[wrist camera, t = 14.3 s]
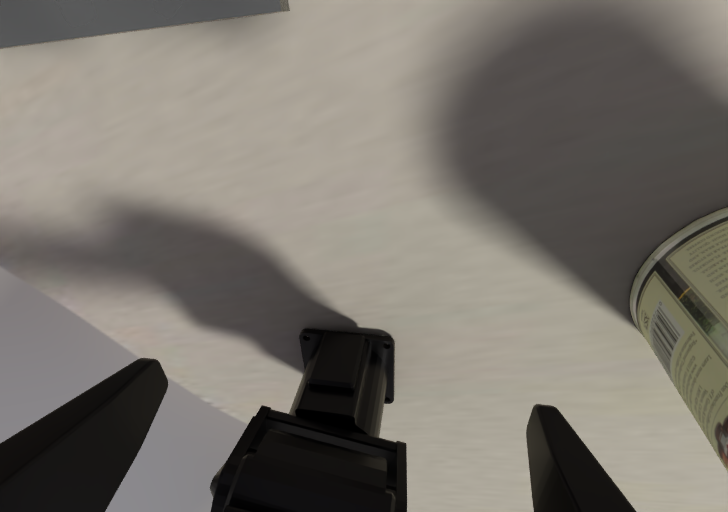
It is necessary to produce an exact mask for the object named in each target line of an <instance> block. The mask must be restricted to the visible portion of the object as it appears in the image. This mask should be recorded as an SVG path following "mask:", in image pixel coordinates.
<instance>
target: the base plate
mask: <svg viewBox="0 0 728 512" xmlns="http://www.w3.org/2000/svg"><path fill="white" fill-rule="evenodd" d="M285 11H290V10H289V4H288V0H0V49H2V48H10V47H17V46H25V45H33V44H40V43H48V42H56V41H63V40H71V39H79V38H86V37H94V36H102V35H109V34H117V33H125V32H132V31H140V30H147V29H155V28H163V27H170V26H178V25H186V24H193V23H201V22H209V21H216V20H224V19H232V18H239V17H247V16H255V15H262V14H270V13H278V12H285Z"/></svg>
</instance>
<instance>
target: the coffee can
mask: <svg viewBox="0 0 728 512" xmlns="http://www.w3.org/2000/svg"><path fill="white" fill-rule="evenodd" d="M630 310H631V315H632V318H633V321H634V323H635V325H636V327H637V328H638V330H639V331H640V333H641V334H642V335H643V336H644V337H645V339H646V340H647V342H648V343H649V345H650V347H651V348H652V350H653V351H654V353H655V355H656V356H657V358H658V359H659V361H660V363H661V364H662V366H663V368H664V369H665V371H666V372H667V374H668V376H669V377H670V379H671V381H672V382H673V384H674V386H675V387H676V389H677V390H678V392H679V394H680V395H681V397H682V399H683V400H684V402H685V403H686V405H687V407H688V408H689V410H690V411H691V413H692V415H693V416H694V418H695V419H696V421H697V423H698V424H699V426H700V427H701V429H702V431H703V432H704V434H705V435H706V437H707V439H708V440H709V442H710V444H711V445H712V447H713V449H714V450H715V452H716V453H717V455H718V457H719V458H720V460H721V462H722V463H723V465H724V467H725V468H726V470H727V471H728V207H726V208H723V209H721V210H718V211H715V212H713V213H711V214H709V215H707V216H704V217H702V218H700V219H698V220H696V221H694V222H693V223H691V224H690V225H688V226H687V227H685V228H683V229H682V230H680V231H679V232H677V233H675V234H674V235H673V236H672V237H671V238H669V239H668V240H666V241H665V242H664V243H662V244H661V245H660V246H659V247H658V248H657V249H656V250H655V251H654V252H653V253H652V254H651V255H650V256H649V258H648V259H647V260H646V261H645V263H644V264H643V266H642V267H641V269H640V270H639V272H638V274H637V275H636V276H635V280H634V283H633V286H632V290H631V294H630Z"/></svg>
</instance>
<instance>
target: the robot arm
mask: <svg viewBox="0 0 728 512" xmlns="http://www.w3.org/2000/svg"><path fill="white" fill-rule="evenodd" d="M307 336H309V337H307ZM299 338H300V344H301V349H302V355H303V361H304V367H305V372H304V375H303V377H302V380H301V383H300V385H299V388H298V391H297V393H296V396H295V399H294V401H293V404H292V407H291V409H290V412H289V414H287V413H283V412H279V411H275V410H271V408H270V407H266V406H263V405H262V406H261V408H260V409H259V411H258V413H257V415H256V416H253V418H252V419H251V421H250V423H249V424H248V426H247V428H246V429H245V431H244V433H243V434H242V436H241V438H240V440H239V441H238V443H237V445H236V446H235V448H234V450H233V451H232V453H231V455H230V456H229V458H228V460H227V461H226V463H225V464H224V465H223V466H222V467H221V469H220V470H219V471H218V472H217V474H216V475H215V476H214V478H213V480H212V482H211V486H210V490H211V493H212V495H213V502H212V508H211V512H407V462H406V443H403V442H400V441H397V442H393V441H389V440H386V439H382V438H379V434H380V427H381V420H382V413H383V407H384V403H385V404H390V403H392V402H393V401H394V363H395V342H394V340H393V338H391V337H388V336H378V335H368V334H357V333H347V332H336V331H325V330H315V329H303V330H302V331H301V333H300V337H299ZM385 343H387V344H388V345H387V344H385ZM167 387H168V380H167V377H166V375H165V373H164V371H163V369H162V367H161V365H160V363H159V361H158V360H156V359H149V358H140V359H138V360H136V361H134V362H133V363H131V364H130V365H128V366H126V367H125V368H123V369H121V370H120V371H118V372H116V373H115V374H113V375H112V376H110V377H108V378H107V379H105V380H103V381H102V382H100V383H99V384H97V385H95V386H94V387H92V388H90V389H89V390H87V391H85V392H84V393H82V394H81V395H79V396H77V397H76V398H74V399H72V400H71V401H69V402H67V403H66V404H64V405H63V406H61V407H59V408H58V409H56V410H54V411H53V412H51V413H49V414H48V415H46V416H45V417H43V418H41V419H40V420H38V421H36V422H35V423H33V424H31V425H30V426H28V427H27V428H25V429H24V430H22V431H20V432H18V433H17V434H15V435H13V436H12V437H11V438H9V439H7V440H5V441H4V442H2V443H0V512H105V511H106V509H107V507H108V505H109V504H110V502H111V500H112V498H113V496H114V494H115V492H116V491H117V489H118V488H119V486H120V484H121V482H122V480H123V479H124V477H125V475H126V473H127V472H128V470H129V468H130V466H131V465H132V463H133V461H134V459H135V457H136V456H137V453H138V452H139V450H140V448H141V446H142V444H143V442H144V439H145V438H146V435H147V433H148V431H149V428H150V426H151V424H152V422H153V420H154V417H155V415H156V413H157V411H158V408H159V406H160V404H161V402H162V400H163V397H164V395H165V393H166V390H167ZM526 437H527V448H528V458H529V468H530V478H531V489H532V499H533V508H534V512H636V511H635V509H634V508H633V507H632V505H631V504H630V503H629V501H628V500H627V499H626V498H625V496H624V495H623V494H622V492H621V491H620V490H619V488H618V487H617V486H616V484H615V483H614V482H613V481H612V479H611V478H610V477H609V475H608V474H607V473H606V471H605V470H604V469H603V468H602V466H601V465H600V464H599V462H598V461H597V460H596V458H595V457H594V456H593V455H592V453H591V452H590V451H589V449H588V448H587V447H586V445H585V444H584V443H583V441H582V440H581V439H580V438H579V436H578V435H577V434H576V432H575V431H574V430H573V428H572V427H571V426H570V425H569V423H568V422H567V421H566V419H565V418H564V417H563V415H562V414H561V413H560V412H559V410H558V409H557V408H556V407H554V406H550V405H541V404H536V405H535V406H534V407H533V409H532V412H531V416H530V419H529V422H528V425H527V431H526Z"/></svg>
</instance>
